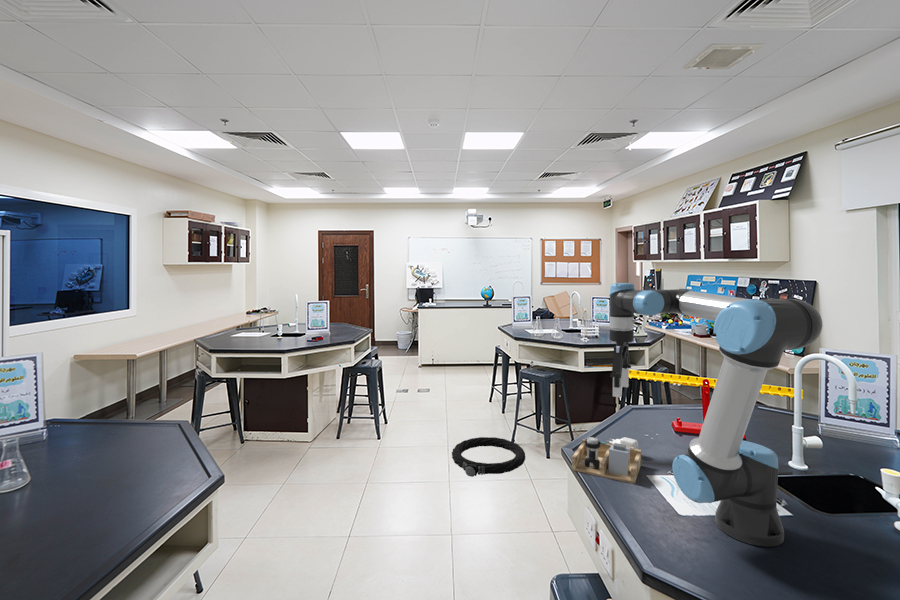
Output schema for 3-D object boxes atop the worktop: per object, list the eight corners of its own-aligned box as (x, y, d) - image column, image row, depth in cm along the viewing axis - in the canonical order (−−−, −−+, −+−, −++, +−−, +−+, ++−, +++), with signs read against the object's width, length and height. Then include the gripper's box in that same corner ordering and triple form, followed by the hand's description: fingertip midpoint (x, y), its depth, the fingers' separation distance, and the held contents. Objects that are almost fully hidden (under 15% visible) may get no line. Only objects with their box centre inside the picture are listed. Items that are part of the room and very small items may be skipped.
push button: (578, 467, 152) (578, 439, 151) (583, 461, 156) (583, 434, 155) (598, 471, 148) (598, 443, 147) (602, 465, 152) (602, 438, 152)
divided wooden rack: (634, 484, 141) (634, 465, 140) (571, 470, 151) (571, 453, 151) (640, 465, 154) (641, 448, 154) (582, 453, 164) (583, 438, 164)
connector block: (627, 476, 144) (627, 449, 144) (608, 472, 148) (609, 445, 147) (629, 470, 148) (630, 444, 148) (611, 467, 151) (611, 441, 151)
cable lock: (534, 442, 167) (508, 475, 141) (534, 452, 168) (508, 486, 141) (470, 431, 180) (434, 459, 154) (470, 440, 181) (434, 469, 154)
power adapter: (605, 450, 168) (605, 435, 167) (610, 446, 171) (611, 432, 170) (633, 458, 159) (634, 443, 159) (639, 454, 163) (639, 439, 162)
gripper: (627, 334, 132) (626, 403, 133) (638, 325, 153) (637, 384, 155) (602, 333, 136) (601, 399, 137) (616, 324, 157) (615, 381, 158)
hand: (620, 391), depth 146 cm, fingers open, 13 cm apart
